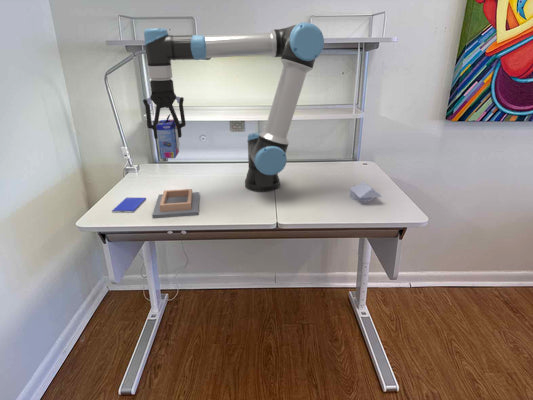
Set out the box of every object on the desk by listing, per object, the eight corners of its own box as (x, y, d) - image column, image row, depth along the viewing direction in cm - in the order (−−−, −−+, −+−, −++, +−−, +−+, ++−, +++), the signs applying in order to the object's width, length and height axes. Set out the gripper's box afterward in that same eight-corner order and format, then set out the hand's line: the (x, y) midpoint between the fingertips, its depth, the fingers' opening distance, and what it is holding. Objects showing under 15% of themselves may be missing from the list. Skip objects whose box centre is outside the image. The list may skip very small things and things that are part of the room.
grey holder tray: (199, 194, 148) (198, 186, 147) (198, 214, 130) (197, 205, 129) (159, 197, 146) (158, 188, 145) (152, 218, 128) (151, 208, 127)
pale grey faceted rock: (381, 204, 137) (367, 192, 149) (383, 187, 135) (369, 176, 147) (358, 206, 136) (346, 193, 148) (360, 189, 134) (347, 178, 145)
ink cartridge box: (176, 158, 127) (170, 116, 122) (160, 159, 127) (153, 117, 122) (180, 151, 137) (174, 112, 131) (165, 152, 136) (159, 113, 131)
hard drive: (125, 197, 144) (111, 210, 133) (145, 197, 144) (133, 210, 132) (126, 200, 145) (112, 214, 133) (146, 201, 144) (134, 214, 133)
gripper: (189, 77, 127) (195, 143, 135) (134, 79, 124) (144, 145, 133) (189, 79, 120) (195, 148, 129) (130, 81, 117) (141, 151, 126)
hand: (169, 146), depth 131 cm, fingers closed on ink cartridge box, 6 cm apart
